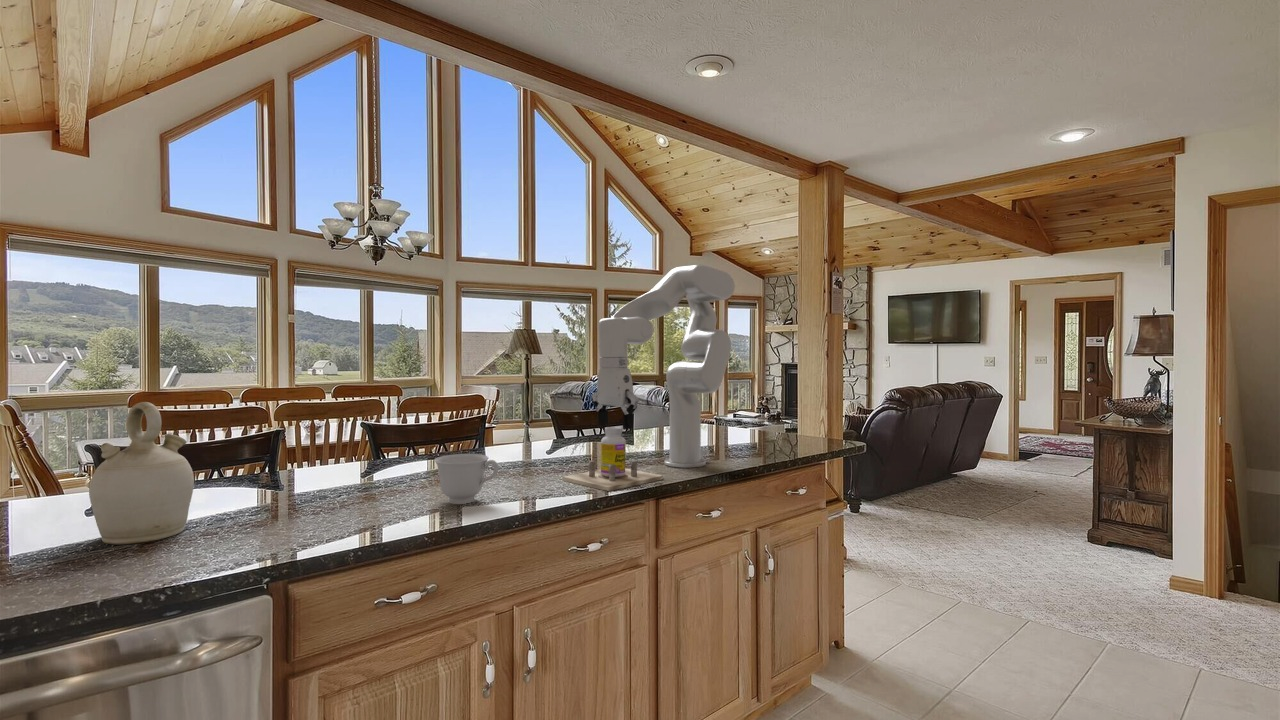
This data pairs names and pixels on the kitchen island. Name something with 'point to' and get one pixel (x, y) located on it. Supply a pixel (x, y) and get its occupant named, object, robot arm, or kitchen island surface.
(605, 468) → the supplement bottle
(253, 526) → the kitchen island surface
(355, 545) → the kitchen island surface
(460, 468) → the teacup
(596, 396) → the robot arm
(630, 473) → the holder
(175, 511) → the jug
